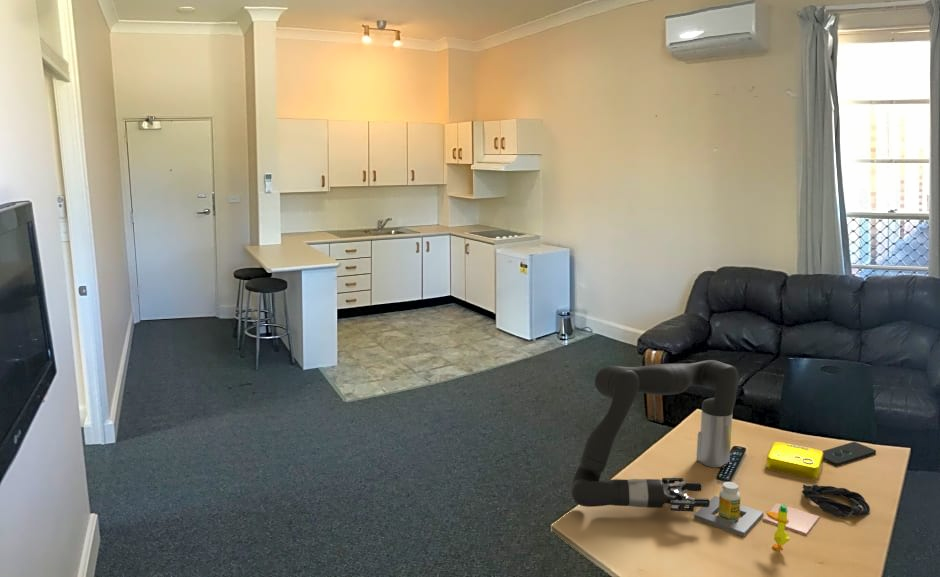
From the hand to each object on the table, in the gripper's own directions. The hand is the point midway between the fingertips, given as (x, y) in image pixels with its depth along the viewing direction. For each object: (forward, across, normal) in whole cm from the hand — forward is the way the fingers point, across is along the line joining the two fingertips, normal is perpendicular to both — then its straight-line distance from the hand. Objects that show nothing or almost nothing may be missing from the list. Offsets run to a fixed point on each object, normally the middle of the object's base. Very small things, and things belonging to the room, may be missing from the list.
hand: (705, 494), depth 182 cm
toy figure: (+14, -14, +7) cm, 21 cm away
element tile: (+36, +33, +7) cm, 50 cm away
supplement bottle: (+7, 0, +7) cm, 9 cm away
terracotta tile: (+23, 0, +6) cm, 24 cm away
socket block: (+7, 0, +6) cm, 9 cm away
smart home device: (+55, +41, +8) cm, 70 cm away
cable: (+38, +10, +7) cm, 40 cm away
